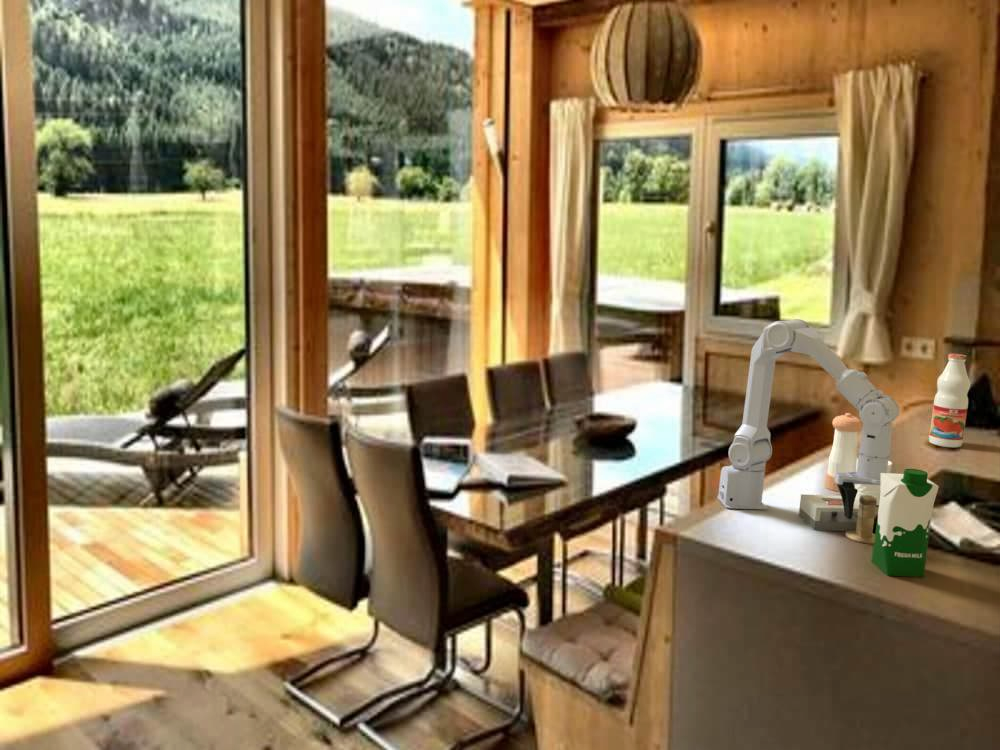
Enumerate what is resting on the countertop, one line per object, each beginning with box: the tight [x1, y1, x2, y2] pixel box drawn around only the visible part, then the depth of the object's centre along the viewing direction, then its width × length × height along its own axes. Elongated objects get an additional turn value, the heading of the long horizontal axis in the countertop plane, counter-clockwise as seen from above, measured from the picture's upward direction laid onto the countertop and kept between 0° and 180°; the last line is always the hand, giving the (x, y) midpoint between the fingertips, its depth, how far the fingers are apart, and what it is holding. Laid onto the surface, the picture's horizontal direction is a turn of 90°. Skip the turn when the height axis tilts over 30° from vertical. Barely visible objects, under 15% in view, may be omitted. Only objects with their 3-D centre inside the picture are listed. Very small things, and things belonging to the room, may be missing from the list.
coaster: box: [845, 530, 876, 545], centre depth 190 cm, size 7×7×1 cm
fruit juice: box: [928, 353, 971, 448], centre depth 278 cm, size 9×9×28 cm
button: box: [827, 501, 843, 515], centre depth 198 cm, size 3×3×3 cm
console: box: [798, 494, 859, 532], centre depth 198 cm, size 12×9×5 cm
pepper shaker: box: [824, 412, 863, 493], centre depth 224 cm, size 7×7×19 cm
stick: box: [856, 495, 877, 538], centre depth 189 cm, size 2×2×8 cm
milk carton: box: [870, 468, 940, 578], centre depth 172 cm, size 9×9×20 cm
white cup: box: [855, 456, 893, 506], centre depth 216 cm, size 8×8×10 cm
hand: (865, 517), depth 189 cm, fingers open, 7 cm apart
